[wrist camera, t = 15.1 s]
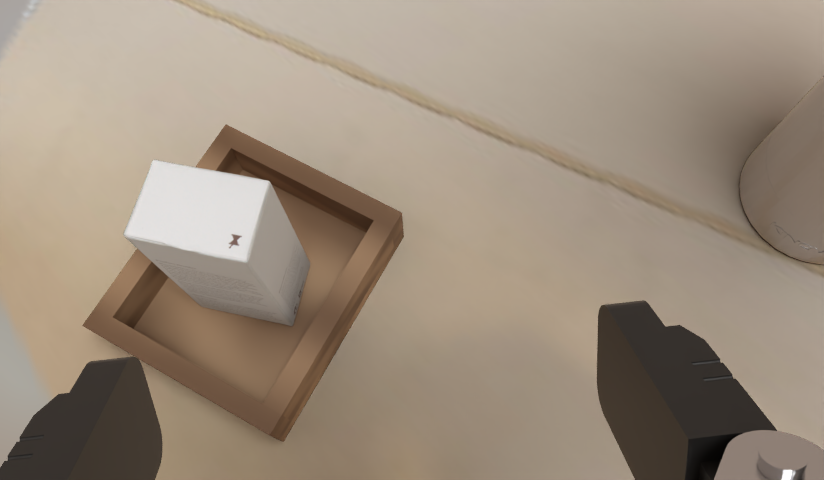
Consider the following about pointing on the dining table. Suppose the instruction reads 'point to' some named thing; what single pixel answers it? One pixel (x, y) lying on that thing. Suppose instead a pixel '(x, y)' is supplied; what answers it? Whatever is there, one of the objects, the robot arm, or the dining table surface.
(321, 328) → the tray
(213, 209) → the skincare box
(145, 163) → the dining table surface
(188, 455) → the dining table surface
